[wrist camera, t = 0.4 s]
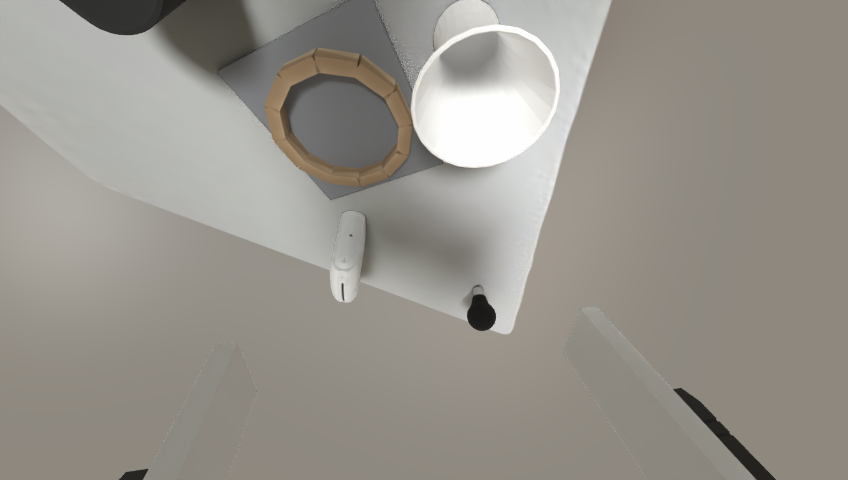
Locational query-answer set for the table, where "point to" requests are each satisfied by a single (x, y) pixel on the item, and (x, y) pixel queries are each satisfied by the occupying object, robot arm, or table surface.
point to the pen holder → (123, 13)
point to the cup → (483, 89)
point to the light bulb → (480, 311)
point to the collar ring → (348, 67)
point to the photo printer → (348, 256)
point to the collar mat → (334, 94)
